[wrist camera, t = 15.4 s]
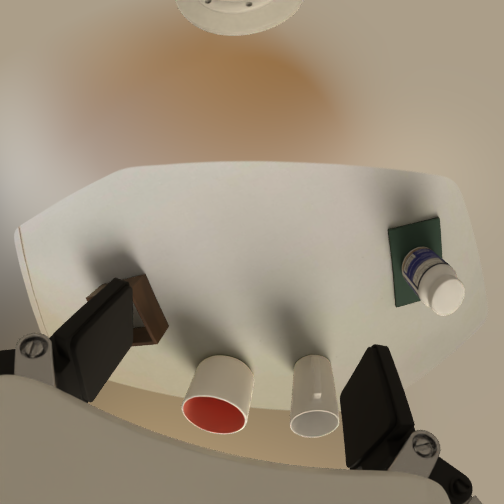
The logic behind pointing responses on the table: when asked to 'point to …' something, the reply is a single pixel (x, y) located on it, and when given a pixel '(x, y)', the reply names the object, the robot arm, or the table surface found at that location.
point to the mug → (313, 398)
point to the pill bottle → (433, 280)
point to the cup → (219, 395)
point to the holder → (144, 311)
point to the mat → (402, 244)
